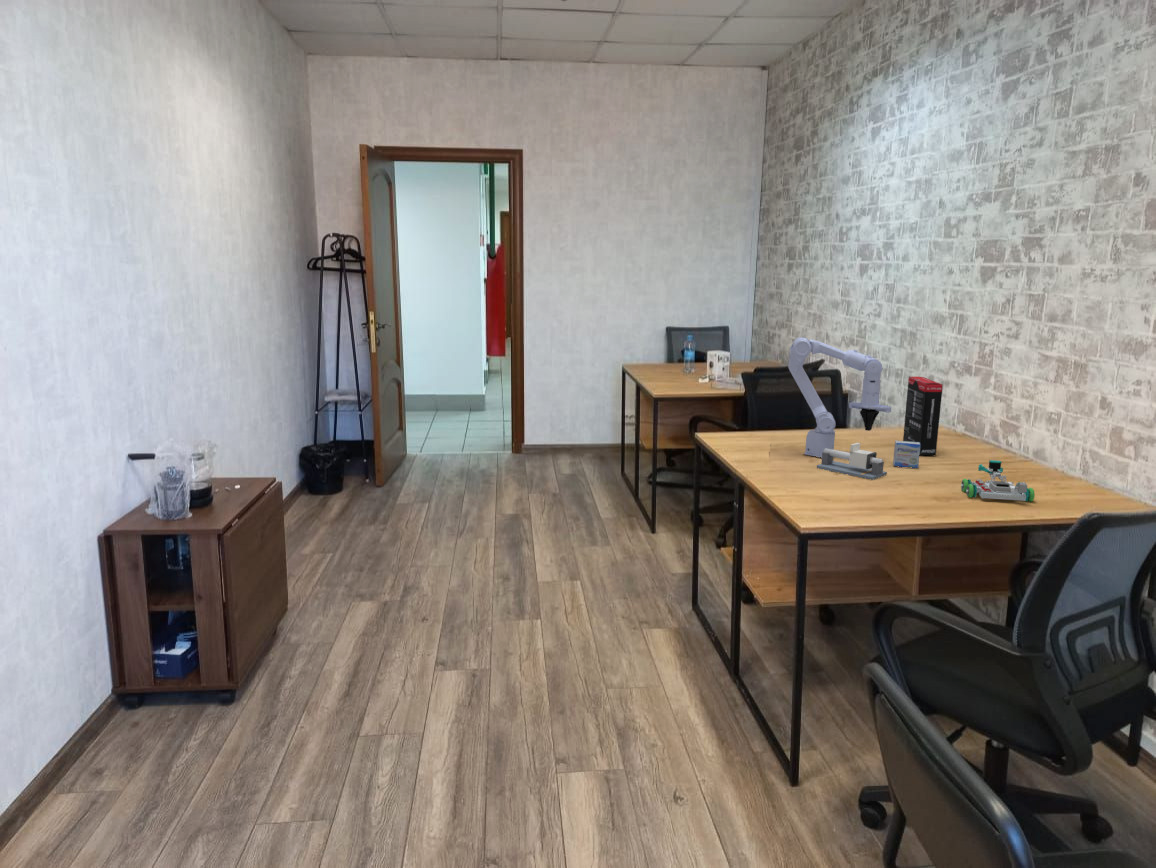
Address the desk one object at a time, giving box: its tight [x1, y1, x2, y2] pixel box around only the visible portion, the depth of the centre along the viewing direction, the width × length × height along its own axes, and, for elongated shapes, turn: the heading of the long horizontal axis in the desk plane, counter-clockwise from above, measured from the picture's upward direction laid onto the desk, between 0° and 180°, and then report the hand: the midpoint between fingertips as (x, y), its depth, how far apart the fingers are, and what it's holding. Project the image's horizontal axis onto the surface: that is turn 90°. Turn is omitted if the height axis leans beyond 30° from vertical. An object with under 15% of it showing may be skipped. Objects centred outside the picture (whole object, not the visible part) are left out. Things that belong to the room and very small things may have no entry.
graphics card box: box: [902, 376, 944, 455], centre depth 294 cm, size 17×7×27 cm, turn 179°
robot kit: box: [960, 459, 1035, 503], centre depth 244 cm, size 19×25×9 cm
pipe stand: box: [816, 448, 888, 481], centre depth 266 cm, size 20×10×6 cm, turn 43°
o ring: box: [866, 451, 878, 469], centre depth 261 cm, size 1×5×5 cm, turn 134°
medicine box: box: [892, 440, 921, 469], centre depth 274 cm, size 8×4×9 cm, turn 73°
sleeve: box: [848, 442, 874, 469], centre depth 263 cm, size 6×5×7 cm
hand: (868, 430), depth 283 cm, fingers closed
